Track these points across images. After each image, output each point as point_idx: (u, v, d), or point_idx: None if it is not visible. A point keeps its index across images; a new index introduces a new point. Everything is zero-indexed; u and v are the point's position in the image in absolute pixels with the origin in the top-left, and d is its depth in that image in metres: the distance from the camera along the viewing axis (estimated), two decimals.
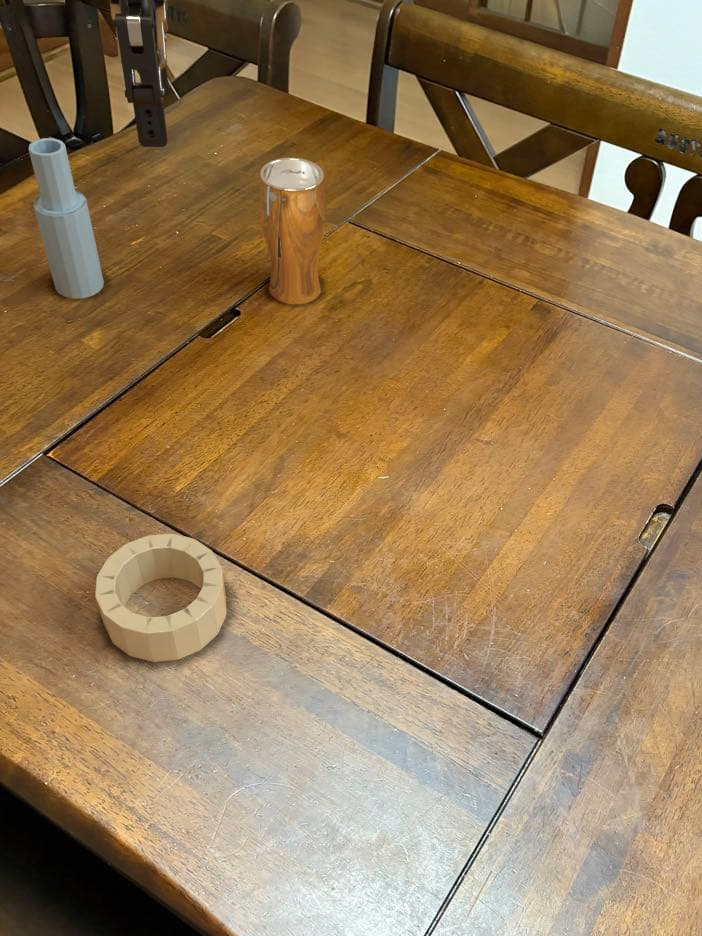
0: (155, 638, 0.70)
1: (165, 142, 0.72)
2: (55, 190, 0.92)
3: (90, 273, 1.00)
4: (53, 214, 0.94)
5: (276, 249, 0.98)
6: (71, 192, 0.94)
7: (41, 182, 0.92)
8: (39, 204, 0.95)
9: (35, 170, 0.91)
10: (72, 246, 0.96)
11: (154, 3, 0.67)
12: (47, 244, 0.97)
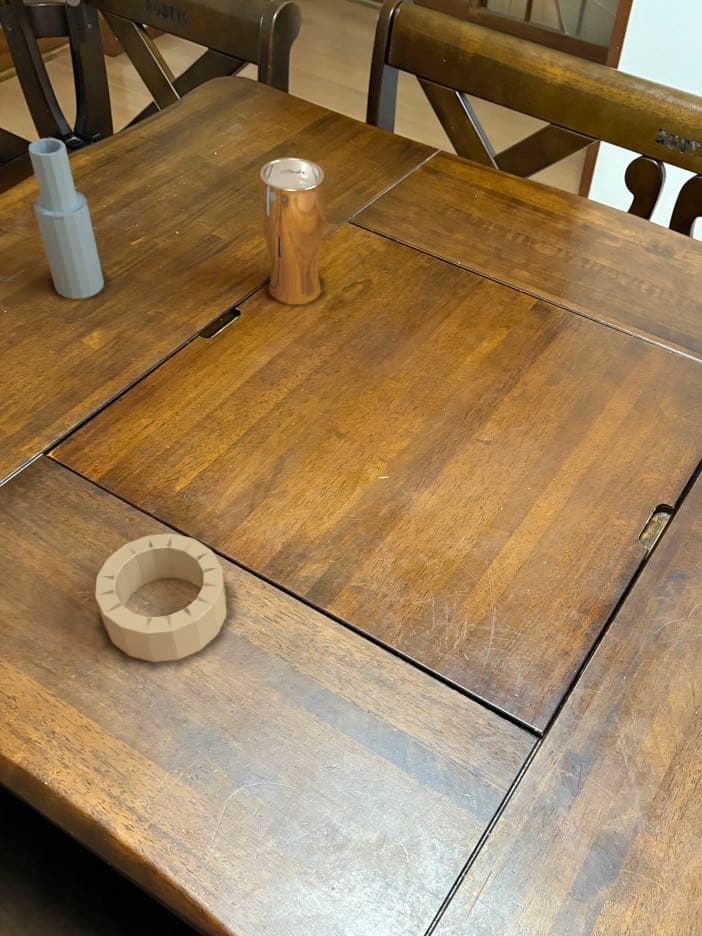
0: (155, 638, 0.70)
1: None
2: (55, 190, 0.92)
3: (90, 273, 1.00)
4: (53, 214, 0.94)
5: (276, 249, 0.98)
6: (71, 192, 0.94)
7: (41, 182, 0.92)
8: (39, 204, 0.95)
9: (35, 170, 0.91)
10: (72, 246, 0.96)
11: None
12: (47, 244, 0.97)
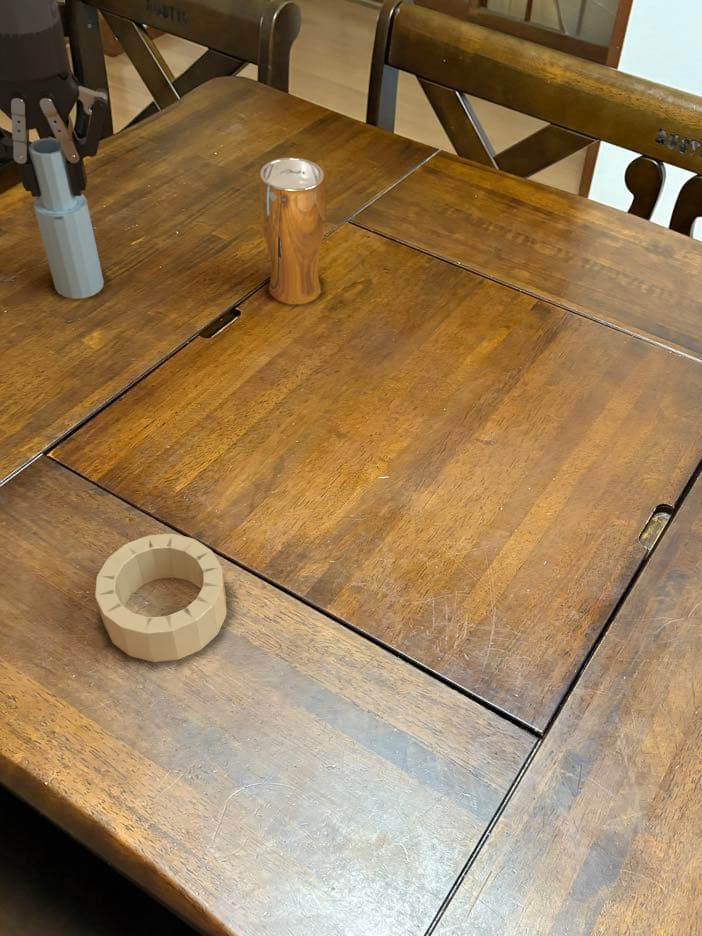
0: (155, 638, 0.70)
1: None
2: (55, 190, 0.92)
3: (90, 273, 1.00)
4: (53, 214, 0.94)
5: (276, 249, 0.98)
6: (71, 192, 0.94)
7: (41, 182, 0.92)
8: (39, 204, 0.95)
9: (35, 170, 0.91)
10: (72, 246, 0.96)
11: (12, 95, 0.85)
12: (47, 244, 0.97)
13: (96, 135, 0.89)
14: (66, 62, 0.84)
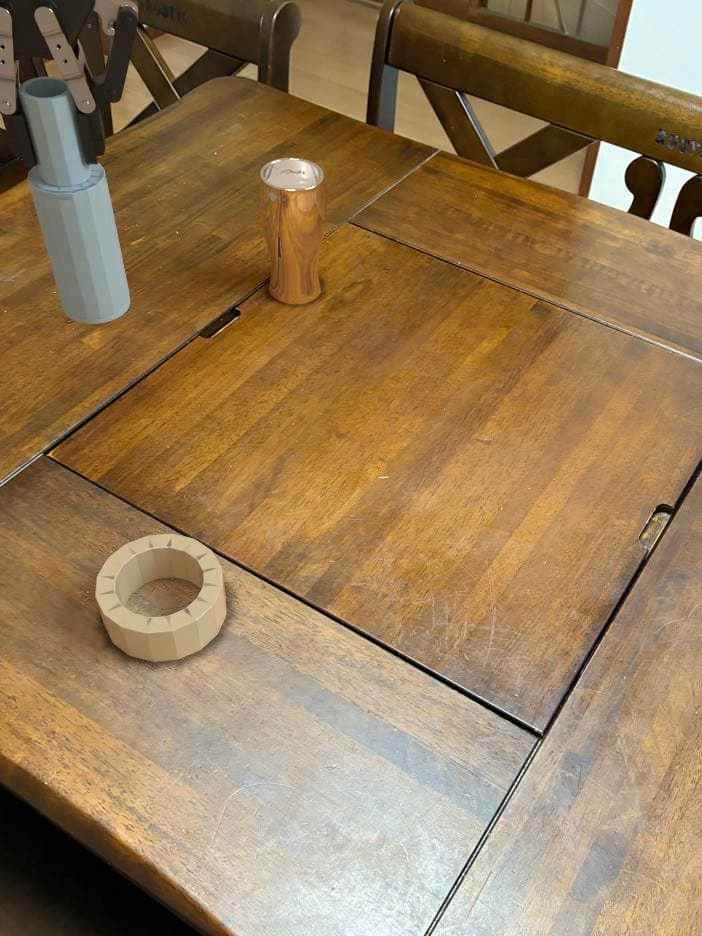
0: (155, 638, 0.70)
1: None
2: (59, 155, 0.62)
3: (111, 278, 0.69)
4: (57, 191, 0.63)
5: (276, 249, 0.98)
6: (83, 158, 0.63)
7: (39, 143, 0.61)
8: (36, 177, 0.64)
9: (29, 125, 0.61)
10: (85, 238, 0.66)
11: None
12: (48, 237, 0.66)
13: (121, 68, 0.59)
14: None
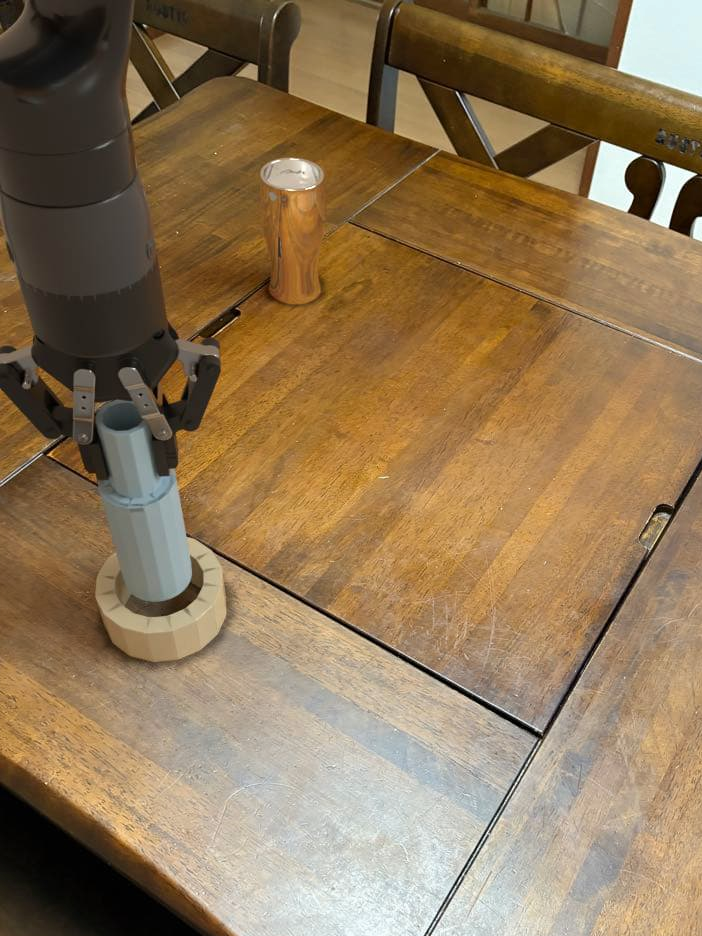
0: (155, 638, 0.70)
1: (97, 478, 0.62)
2: (133, 474, 0.61)
3: (176, 564, 0.69)
4: (129, 504, 0.62)
5: (276, 249, 0.98)
6: (156, 471, 0.62)
7: (113, 464, 0.60)
8: (107, 485, 0.63)
9: (104, 449, 0.60)
10: (154, 539, 0.65)
11: (75, 363, 0.54)
12: (116, 535, 0.65)
13: (201, 405, 0.58)
14: (163, 315, 0.53)
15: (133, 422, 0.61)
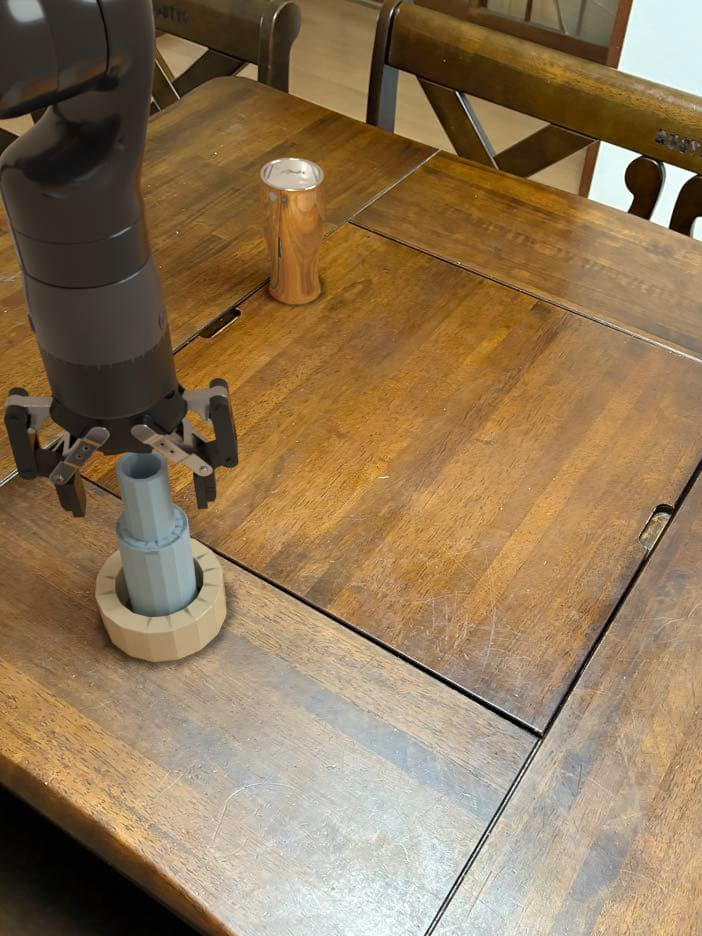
0: (155, 638, 0.70)
1: None
2: (149, 519, 0.65)
3: (186, 604, 0.72)
4: (144, 547, 0.66)
5: (276, 249, 0.98)
6: (170, 516, 0.66)
7: (131, 510, 0.65)
8: (123, 529, 0.67)
9: (123, 496, 0.64)
10: (166, 580, 0.69)
11: (91, 420, 0.57)
12: (131, 577, 0.69)
13: (229, 442, 0.61)
14: (173, 377, 0.56)
15: (150, 470, 0.65)
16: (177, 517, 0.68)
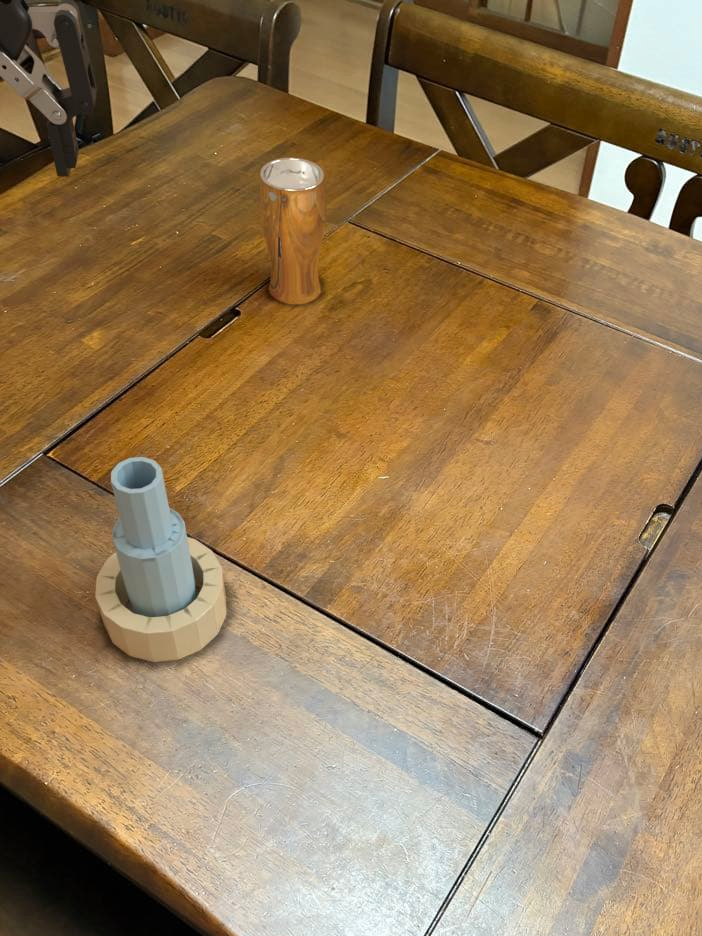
0: (155, 638, 0.70)
1: None
2: (146, 528, 0.65)
3: (185, 606, 0.72)
4: (141, 555, 0.66)
5: (276, 249, 0.98)
6: (167, 523, 0.66)
7: (127, 519, 0.64)
8: (120, 536, 0.67)
9: (119, 505, 0.64)
10: (165, 585, 0.69)
11: None
12: (129, 582, 0.69)
13: (81, 77, 0.56)
14: None
15: (145, 477, 0.65)
16: (174, 522, 0.68)
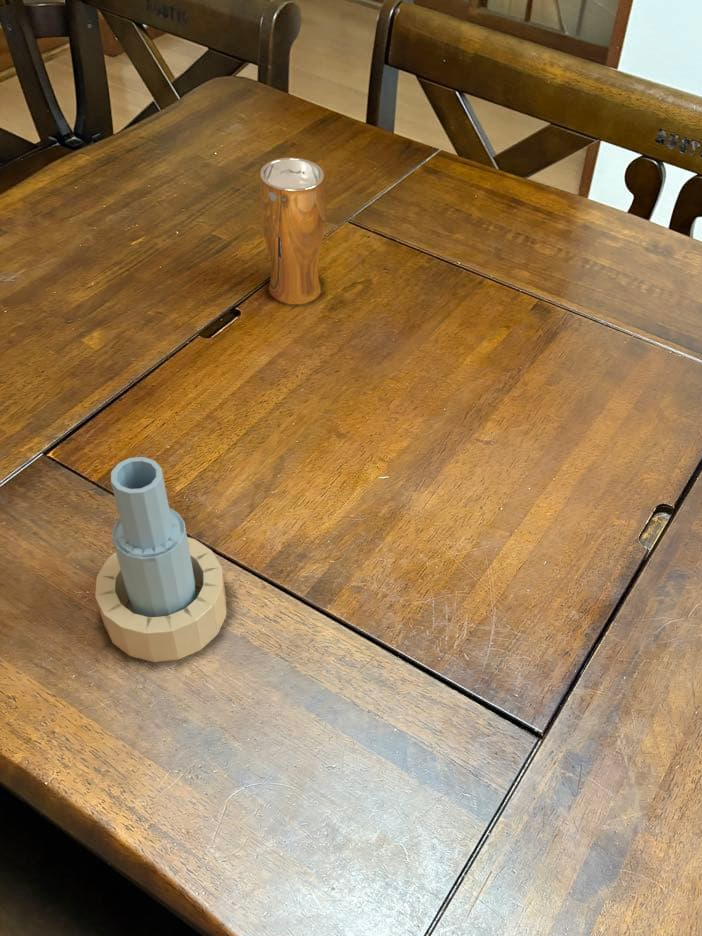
0: (155, 638, 0.70)
1: None
2: (146, 528, 0.65)
3: (185, 606, 0.72)
4: (141, 555, 0.66)
5: (276, 249, 0.98)
6: (167, 523, 0.66)
7: (127, 519, 0.64)
8: (120, 536, 0.67)
9: (119, 505, 0.64)
10: (165, 585, 0.69)
11: None
12: (129, 582, 0.69)
13: None
14: None
15: (145, 477, 0.65)
16: (174, 522, 0.68)
